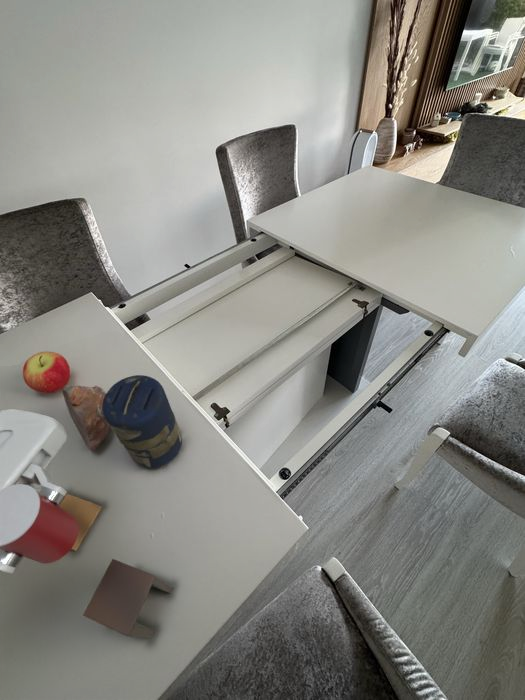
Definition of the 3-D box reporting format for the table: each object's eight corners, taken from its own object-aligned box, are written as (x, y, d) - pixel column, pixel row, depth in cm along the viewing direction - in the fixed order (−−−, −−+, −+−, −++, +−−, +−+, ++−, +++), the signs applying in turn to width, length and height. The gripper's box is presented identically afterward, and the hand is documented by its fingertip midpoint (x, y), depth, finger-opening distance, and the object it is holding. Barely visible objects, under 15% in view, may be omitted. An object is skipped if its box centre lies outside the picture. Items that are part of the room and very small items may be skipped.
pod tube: (59, 572, 36) (9, 555, 29) (18, 555, 37) (-40, 534, 30) (89, 520, 39) (51, 493, 32) (51, 506, 40) (5, 477, 33)
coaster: (76, 551, 54) (74, 550, 54) (40, 536, 55) (38, 535, 55) (102, 507, 58) (100, 506, 58) (68, 494, 60) (66, 493, 59)
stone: (69, 413, 70) (46, 385, 62) (109, 391, 73) (91, 361, 66) (94, 459, 64) (70, 434, 56) (136, 433, 67) (119, 405, 60)
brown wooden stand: (152, 638, 47) (127, 636, 39) (114, 621, 48) (82, 615, 40) (173, 587, 51) (154, 575, 42) (137, 572, 52) (112, 558, 44)
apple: (63, 403, 72) (39, 374, 64) (27, 397, 73) (-1, 367, 65) (84, 372, 77) (64, 342, 69) (50, 366, 78) (27, 336, 70)
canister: (121, 460, 64) (82, 409, 50) (150, 417, 69) (122, 361, 56) (166, 479, 61) (137, 431, 48) (192, 433, 67) (173, 378, 53)
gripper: (-211, 594, 28) (-84, 665, 25) (-11, 392, 41) (89, 424, 38) (-141, 601, 33) (-28, 662, 30) (18, 418, 45) (109, 449, 43)
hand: (39, 528), depth 34 cm, fingers closed on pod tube, 5 cm apart
